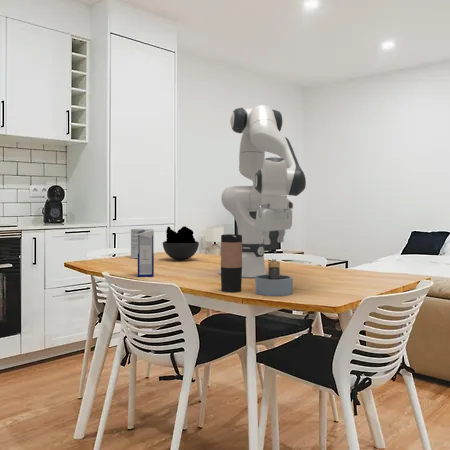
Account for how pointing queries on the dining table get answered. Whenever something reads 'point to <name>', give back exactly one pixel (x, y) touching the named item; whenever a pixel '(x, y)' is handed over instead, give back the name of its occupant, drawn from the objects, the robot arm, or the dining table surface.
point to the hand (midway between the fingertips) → (273, 243)
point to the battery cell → (273, 269)
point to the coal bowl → (180, 244)
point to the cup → (274, 285)
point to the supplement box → (135, 242)
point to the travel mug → (231, 262)
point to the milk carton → (146, 253)
